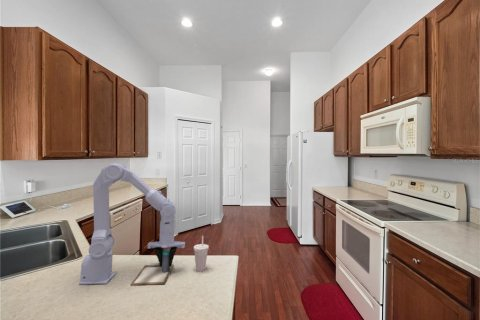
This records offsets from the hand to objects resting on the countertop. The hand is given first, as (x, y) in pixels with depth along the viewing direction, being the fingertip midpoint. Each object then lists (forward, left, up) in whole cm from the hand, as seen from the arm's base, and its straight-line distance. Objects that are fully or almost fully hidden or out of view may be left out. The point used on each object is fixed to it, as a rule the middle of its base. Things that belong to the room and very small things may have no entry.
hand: (165, 265), depth 90 cm
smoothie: (+14, +2, -3) cm, 14 cm away
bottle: (0, 0, -2) cm, 2 cm away
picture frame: (-4, -2, -3) cm, 5 cm away
